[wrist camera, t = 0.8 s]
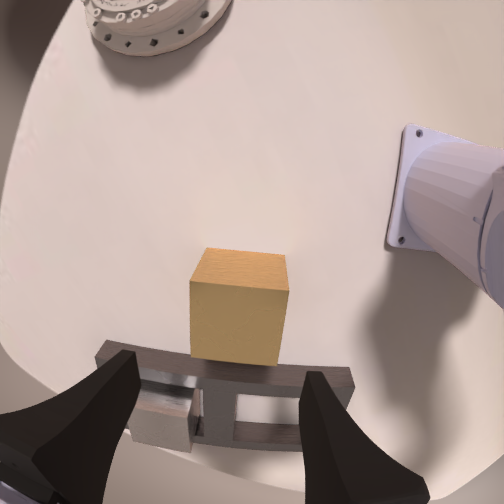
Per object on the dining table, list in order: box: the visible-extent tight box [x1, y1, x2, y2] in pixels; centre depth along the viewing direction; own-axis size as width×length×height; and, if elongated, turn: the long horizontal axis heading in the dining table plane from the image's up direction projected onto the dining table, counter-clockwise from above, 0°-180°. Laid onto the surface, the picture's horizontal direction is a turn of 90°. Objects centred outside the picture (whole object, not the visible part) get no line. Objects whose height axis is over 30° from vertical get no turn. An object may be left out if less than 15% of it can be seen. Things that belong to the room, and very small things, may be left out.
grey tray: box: [95, 340, 355, 452], centre depth 24 cm, size 20×9×2 cm, turn 85°
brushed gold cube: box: [190, 248, 289, 366], centre depth 19 cm, size 5×5×5 cm
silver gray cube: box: [127, 379, 200, 453], centre depth 23 cm, size 5×5×5 cm
